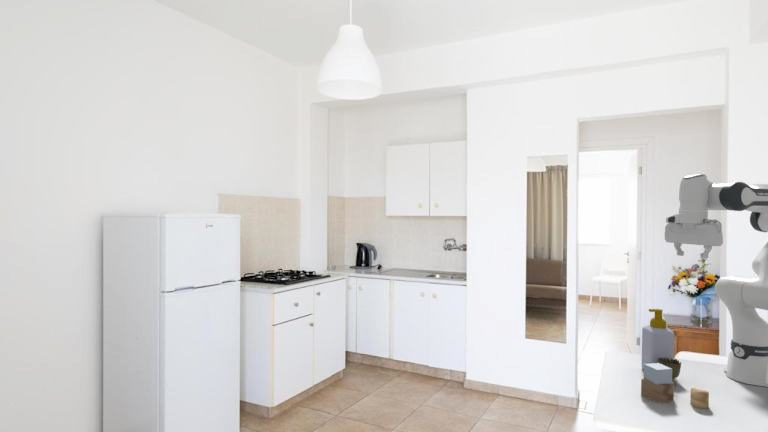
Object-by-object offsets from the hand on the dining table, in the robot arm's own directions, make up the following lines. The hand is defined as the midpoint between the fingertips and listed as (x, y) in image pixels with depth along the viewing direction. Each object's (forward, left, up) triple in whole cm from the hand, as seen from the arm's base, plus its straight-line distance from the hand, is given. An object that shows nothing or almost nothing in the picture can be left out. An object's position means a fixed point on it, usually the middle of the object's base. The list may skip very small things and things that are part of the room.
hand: (692, 256), depth 169 cm
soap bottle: (-3, -16, -48) cm, 51 cm away
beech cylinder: (+11, +13, -48) cm, 51 cm away
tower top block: (+19, +4, -42) cm, 46 cm away
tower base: (+19, +4, -48) cm, 52 cm away
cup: (+1, -7, -48) cm, 49 cm away
